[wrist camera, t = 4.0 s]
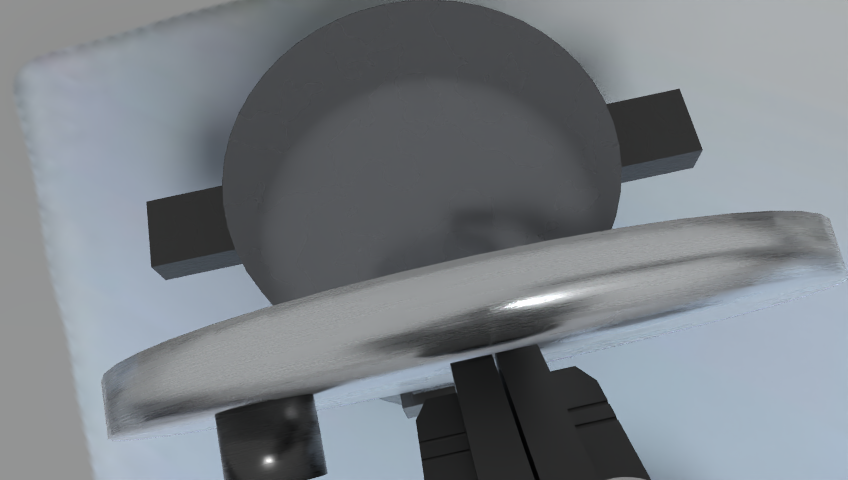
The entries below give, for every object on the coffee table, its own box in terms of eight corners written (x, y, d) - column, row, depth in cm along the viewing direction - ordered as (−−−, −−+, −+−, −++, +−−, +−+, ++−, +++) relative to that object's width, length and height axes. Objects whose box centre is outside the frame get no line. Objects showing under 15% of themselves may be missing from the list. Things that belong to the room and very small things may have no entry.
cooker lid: (687, 295, 29) (710, 374, 28) (230, 394, 29) (243, 475, 28) (1035, 128, 12) (1110, 319, 11) (-99, 370, 12) (-84, 579, 11)
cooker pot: (710, 381, 38) (783, 323, 29) (234, 484, 38) (153, 459, 28) (606, 77, 44) (638, -49, 35) (200, 163, 44) (126, 58, 35)
